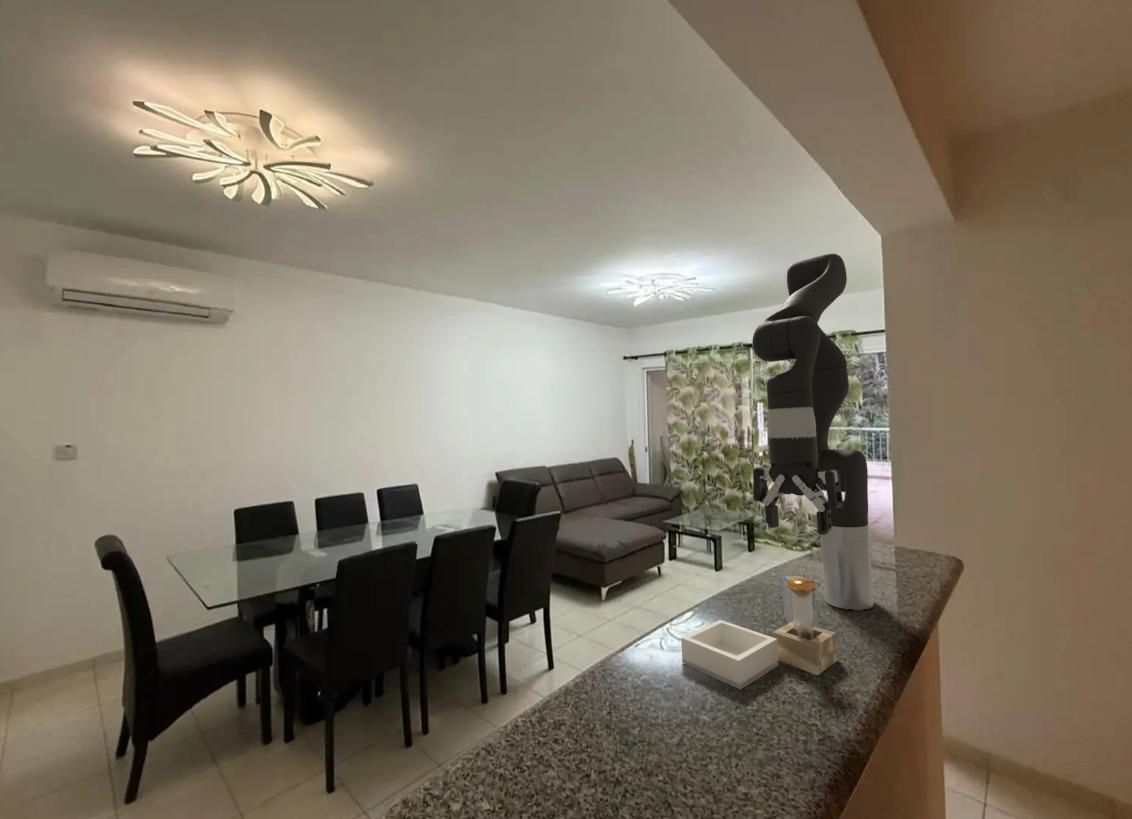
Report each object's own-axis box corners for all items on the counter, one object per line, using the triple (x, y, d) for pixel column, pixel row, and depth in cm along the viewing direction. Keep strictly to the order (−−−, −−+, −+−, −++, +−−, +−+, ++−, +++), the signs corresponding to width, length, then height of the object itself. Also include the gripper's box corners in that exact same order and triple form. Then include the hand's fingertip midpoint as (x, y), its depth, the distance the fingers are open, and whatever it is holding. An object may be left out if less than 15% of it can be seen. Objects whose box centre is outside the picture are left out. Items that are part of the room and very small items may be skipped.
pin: (799, 651, 84) (794, 575, 85) (825, 660, 81) (820, 581, 81) (786, 659, 82) (781, 581, 82) (812, 669, 78) (807, 587, 79)
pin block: (795, 646, 86) (794, 620, 86) (838, 660, 81) (836, 632, 81) (774, 659, 82) (772, 632, 82) (817, 675, 76) (815, 646, 76)
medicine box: (819, 636, 90) (816, 589, 90) (793, 635, 91) (790, 588, 91) (806, 619, 97) (804, 576, 98) (783, 618, 98) (780, 575, 99)
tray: (721, 643, 89) (720, 619, 89) (778, 665, 80) (777, 638, 80) (682, 663, 82) (681, 637, 82) (740, 689, 73) (738, 660, 73)
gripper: (845, 433, 79) (852, 533, 79) (764, 434, 91) (770, 521, 90) (824, 435, 75) (830, 541, 74) (741, 436, 86) (747, 528, 85)
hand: (797, 530), depth 82 cm, fingers open, 8 cm apart
